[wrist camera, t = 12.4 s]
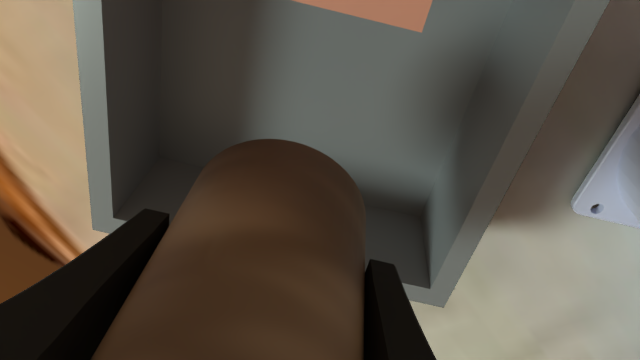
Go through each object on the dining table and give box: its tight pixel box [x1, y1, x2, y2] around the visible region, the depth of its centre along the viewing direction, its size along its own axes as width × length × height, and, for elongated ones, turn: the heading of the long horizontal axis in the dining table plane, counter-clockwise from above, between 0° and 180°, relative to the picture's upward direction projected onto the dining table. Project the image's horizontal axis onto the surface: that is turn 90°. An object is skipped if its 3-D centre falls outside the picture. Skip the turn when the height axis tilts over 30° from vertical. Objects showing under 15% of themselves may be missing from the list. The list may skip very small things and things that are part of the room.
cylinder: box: [91, 139, 366, 360], centre depth 10 cm, size 5×5×7 cm
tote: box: [73, 0, 610, 308], centre depth 15 cm, size 14×18×5 cm
